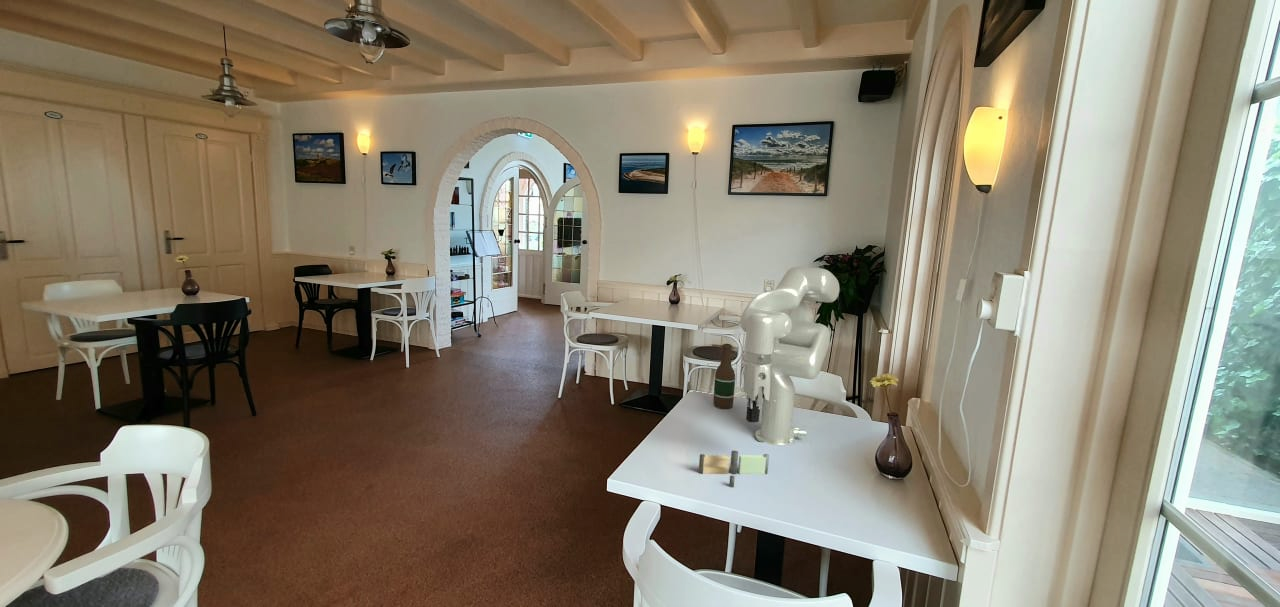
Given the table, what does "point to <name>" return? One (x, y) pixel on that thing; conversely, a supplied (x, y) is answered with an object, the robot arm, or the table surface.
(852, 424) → the table surface
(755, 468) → the hinged panel
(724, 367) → the beer bottle
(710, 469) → the wooden bar grey posts
